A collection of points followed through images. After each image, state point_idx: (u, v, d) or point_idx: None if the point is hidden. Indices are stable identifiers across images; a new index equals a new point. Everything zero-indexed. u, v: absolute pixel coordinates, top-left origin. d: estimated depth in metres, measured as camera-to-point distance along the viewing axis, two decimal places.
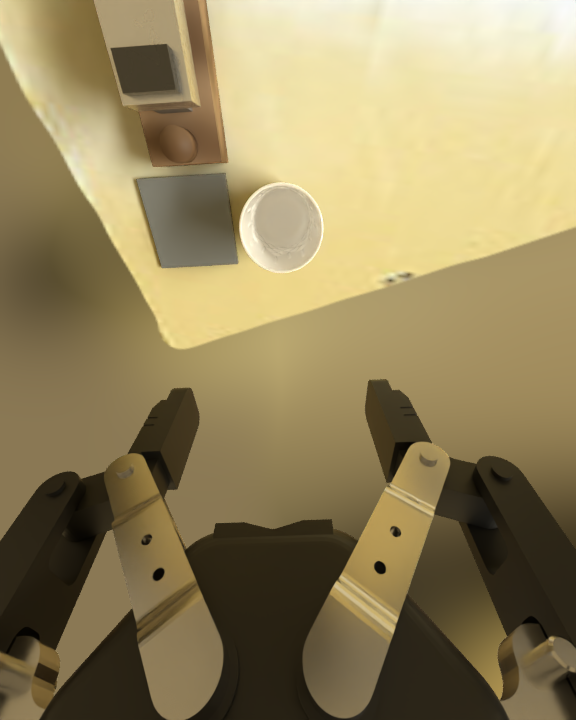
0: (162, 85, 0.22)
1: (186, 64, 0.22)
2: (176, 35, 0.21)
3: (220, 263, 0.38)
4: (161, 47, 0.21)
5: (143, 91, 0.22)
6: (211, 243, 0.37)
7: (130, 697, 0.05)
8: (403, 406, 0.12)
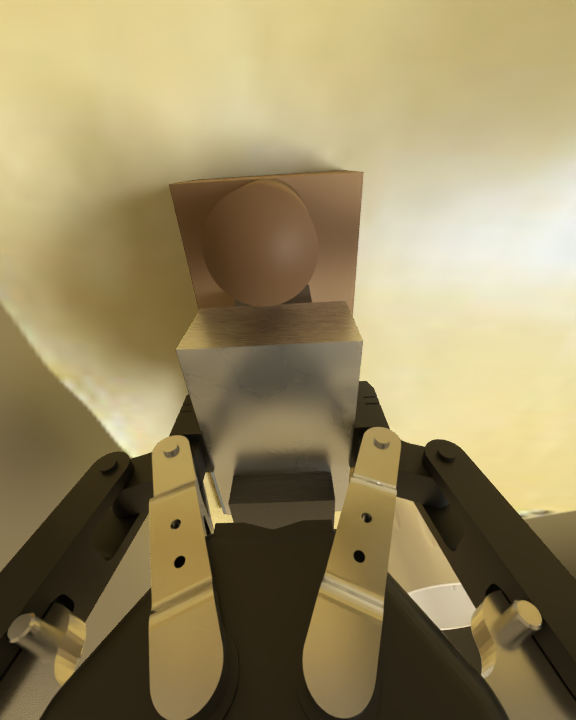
0: None
1: None
2: (343, 460, 0.12)
3: None
4: (324, 503, 0.11)
5: None
6: None
7: (130, 697, 0.05)
8: (368, 396, 0.12)
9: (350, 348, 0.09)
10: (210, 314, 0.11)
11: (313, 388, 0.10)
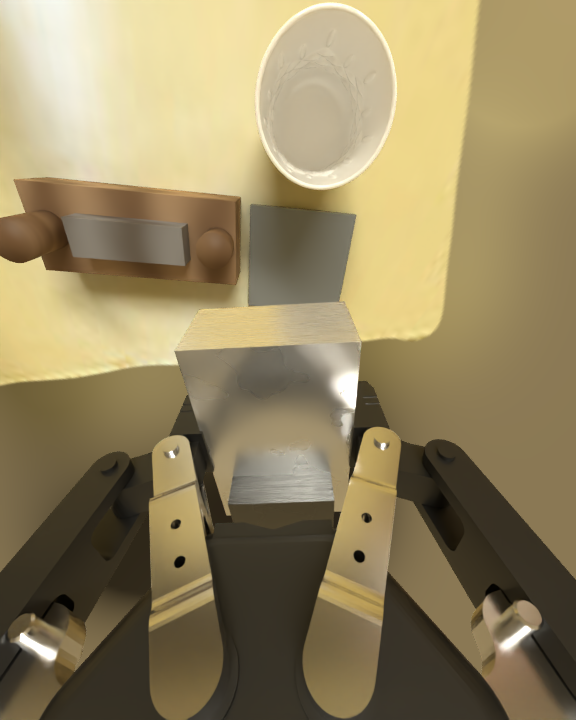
0: None
1: None
2: (342, 461, 0.12)
3: (349, 239, 0.29)
4: (323, 503, 0.11)
5: None
6: (323, 244, 0.29)
7: (130, 697, 0.05)
8: (368, 396, 0.12)
9: (348, 349, 0.09)
10: (209, 315, 0.11)
11: (312, 388, 0.10)
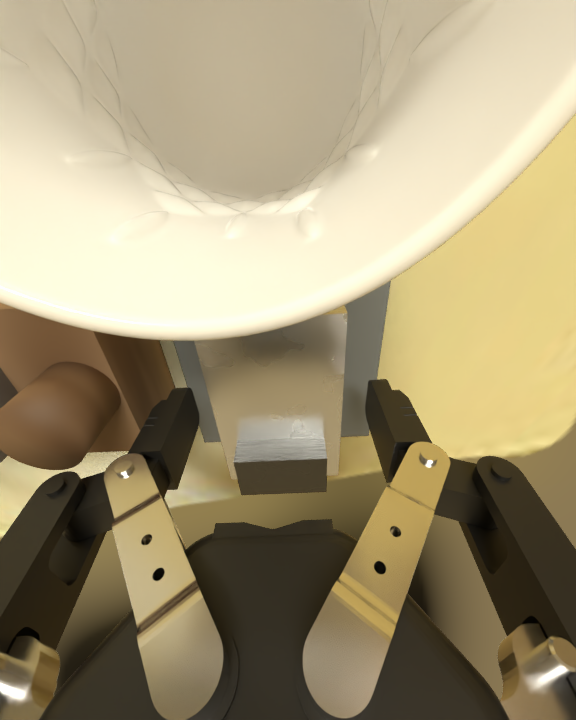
0: (306, 488, 0.14)
1: None
2: (334, 425, 0.13)
3: (381, 318, 0.14)
4: (317, 461, 0.13)
5: (274, 493, 0.14)
6: None
7: (130, 697, 0.05)
8: (403, 406, 0.12)
9: (337, 320, 0.10)
10: None
11: (306, 356, 0.11)
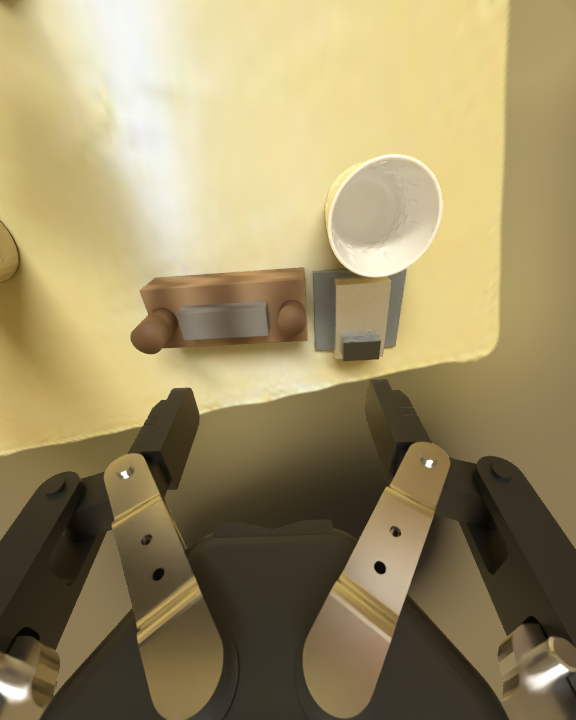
0: (370, 357, 0.33)
1: None
2: (383, 329, 0.32)
3: (402, 286, 0.33)
4: (377, 342, 0.32)
5: None
6: None
7: (130, 697, 0.05)
8: (403, 406, 0.12)
9: (387, 284, 0.30)
10: (338, 277, 0.32)
11: (375, 298, 0.30)
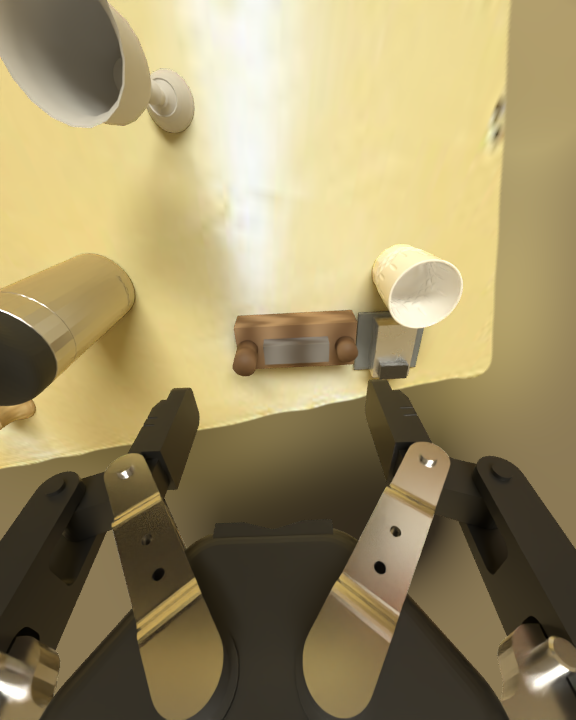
0: (400, 376, 0.44)
1: None
2: (409, 356, 0.44)
3: None
4: (405, 366, 0.43)
5: (390, 378, 0.45)
6: None
7: (130, 697, 0.05)
8: (403, 406, 0.12)
9: None
10: (378, 318, 0.43)
11: (406, 334, 0.42)
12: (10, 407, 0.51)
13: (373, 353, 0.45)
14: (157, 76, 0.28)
